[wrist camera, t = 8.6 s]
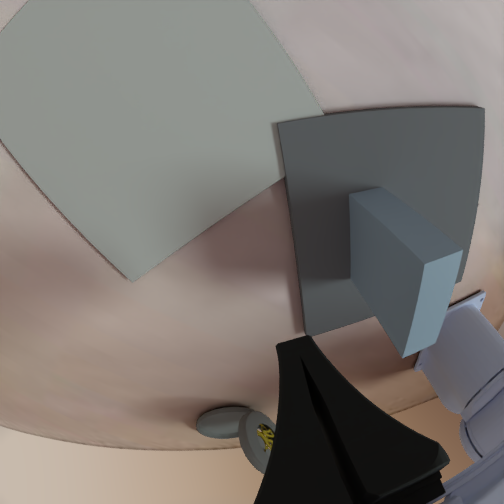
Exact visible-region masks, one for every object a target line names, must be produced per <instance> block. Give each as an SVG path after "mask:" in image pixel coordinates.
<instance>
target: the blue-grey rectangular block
mask: <svg viewBox="0 0 504 504" xmlns="http://www.w3.org/2000/svg"><path fill="white" fill-rule="evenodd" d="M349 210H350V248H351V278H350V279H351V280H352V282H353V283H354V285H355V286H356V288H357V289H358V290H359V292H360V293H361V295H362V296H363V298H364V299H365V301H366V302H367V304H368V305H369V307H370V308H371V310H372V311H373V313H374V315H375V316H376V318H377V319H378V321H379V322H380V324H381V325H382V327H383V328H384V330H385V332H386V333H387V335H388V336H389V338H390V339H391V341H392V343H393V344H394V346H395V347H396V349H397V351H398V352H399V354H400V356H401V357H402V358H405V357H407V356H409V355H411V354H414V353H416V352H418V351H420V350H422V349H424V348H426V347H429V346H431V345H433V344H435V343H436V340H437V338H438V335H439V332H440V329H441V327H442V324H443V321H444V318H445V315H446V312H447V309H448V305H449V302H450V299H451V296H452V292H453V289H454V285H455V281H456V278H457V274H458V270H459V266H460V262H461V258H462V253H463V249H462V248H461V247H459V246H458V245H457V244H456V243H455V242H454V241H452V240H451V239H450V238H449V237H448V236H446V235H445V234H444V233H443V232H442V231H440V230H439V229H438V228H437V227H435V226H434V225H433V224H432V223H430V222H429V221H428V220H426V219H425V218H424V217H423V216H421V215H420V214H419V213H417V212H416V211H415V210H413V209H412V208H411V207H409V206H408V205H407V204H405V203H404V202H402V201H401V200H400V199H398V198H397V197H396V196H394V195H393V194H391V193H390V192H388V191H387V190H386V189H384V188H383V187H379V188H375V189H370V190H365V191H361V192H356V193H351V194H349Z"/></svg>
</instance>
